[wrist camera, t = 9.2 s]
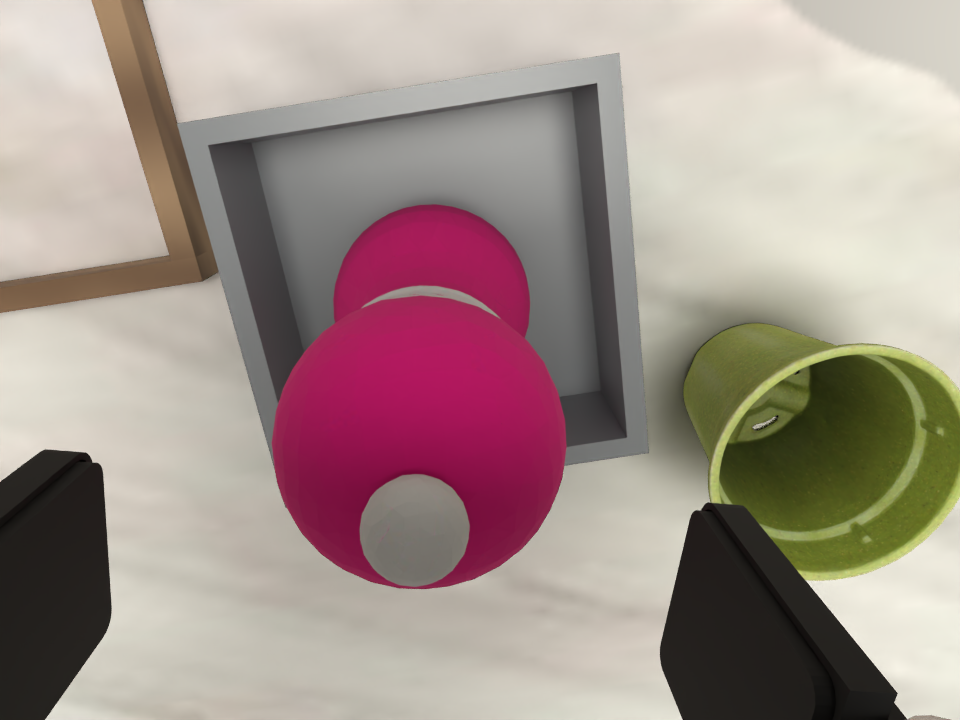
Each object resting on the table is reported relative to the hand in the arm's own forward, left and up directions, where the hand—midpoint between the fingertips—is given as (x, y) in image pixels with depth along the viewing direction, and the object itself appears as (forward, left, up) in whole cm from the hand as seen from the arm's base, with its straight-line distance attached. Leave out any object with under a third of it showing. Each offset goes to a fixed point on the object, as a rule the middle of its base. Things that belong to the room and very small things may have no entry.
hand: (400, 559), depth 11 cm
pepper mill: (0, 0, -20) cm, 20 cm away
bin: (0, 0, -20) cm, 20 cm away
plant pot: (-7, -14, -21) cm, 26 cm away
